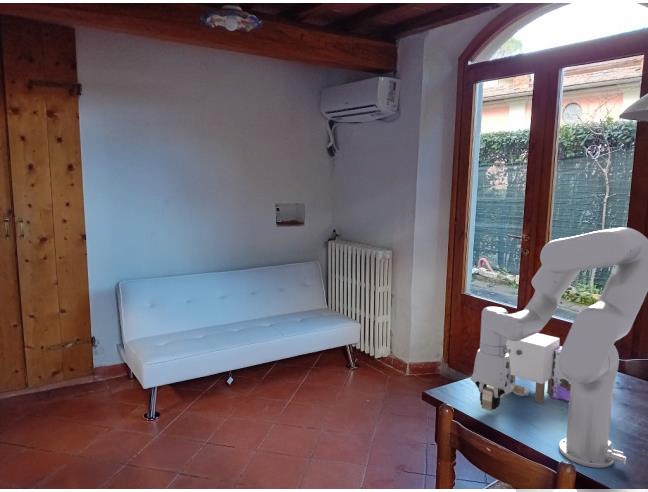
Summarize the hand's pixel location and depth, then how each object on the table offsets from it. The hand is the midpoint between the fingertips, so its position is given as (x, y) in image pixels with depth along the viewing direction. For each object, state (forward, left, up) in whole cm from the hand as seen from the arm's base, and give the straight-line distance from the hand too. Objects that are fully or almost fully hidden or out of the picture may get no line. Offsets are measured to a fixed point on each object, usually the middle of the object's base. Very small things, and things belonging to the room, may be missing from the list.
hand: (489, 405), depth 147 cm
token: (0, -22, -3) cm, 22 cm away
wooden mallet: (0, -8, -1) cm, 8 cm away
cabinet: (0, -25, -3) cm, 25 cm away
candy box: (-15, -29, -3) cm, 33 cm away
